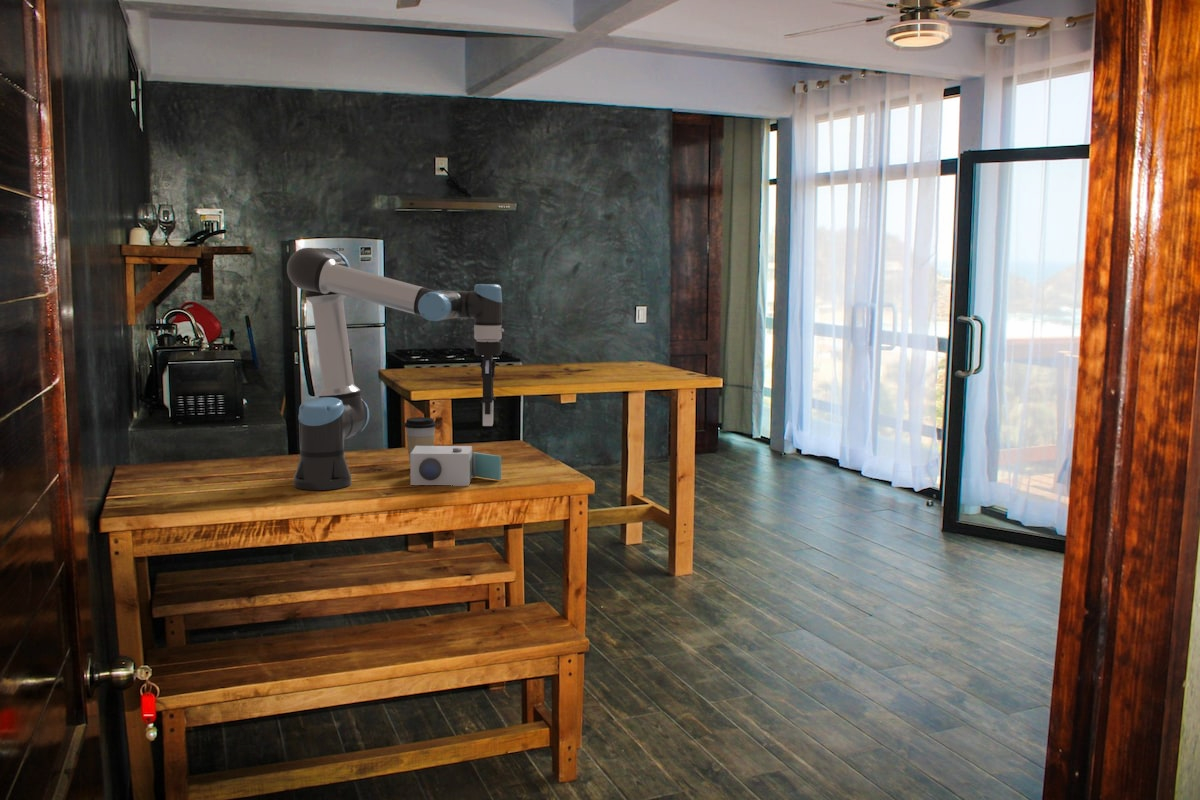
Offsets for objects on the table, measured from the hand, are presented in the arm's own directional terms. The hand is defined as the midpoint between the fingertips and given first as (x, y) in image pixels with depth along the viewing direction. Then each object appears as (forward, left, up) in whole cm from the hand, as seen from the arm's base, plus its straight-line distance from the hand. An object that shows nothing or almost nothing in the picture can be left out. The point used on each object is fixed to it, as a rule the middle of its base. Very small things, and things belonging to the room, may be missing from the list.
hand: (488, 424), depth 274 cm
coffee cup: (-21, +19, -17) cm, 33 cm away
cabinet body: (-13, +2, -17) cm, 21 cm away
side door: (-1, +5, -16) cm, 17 cm away
